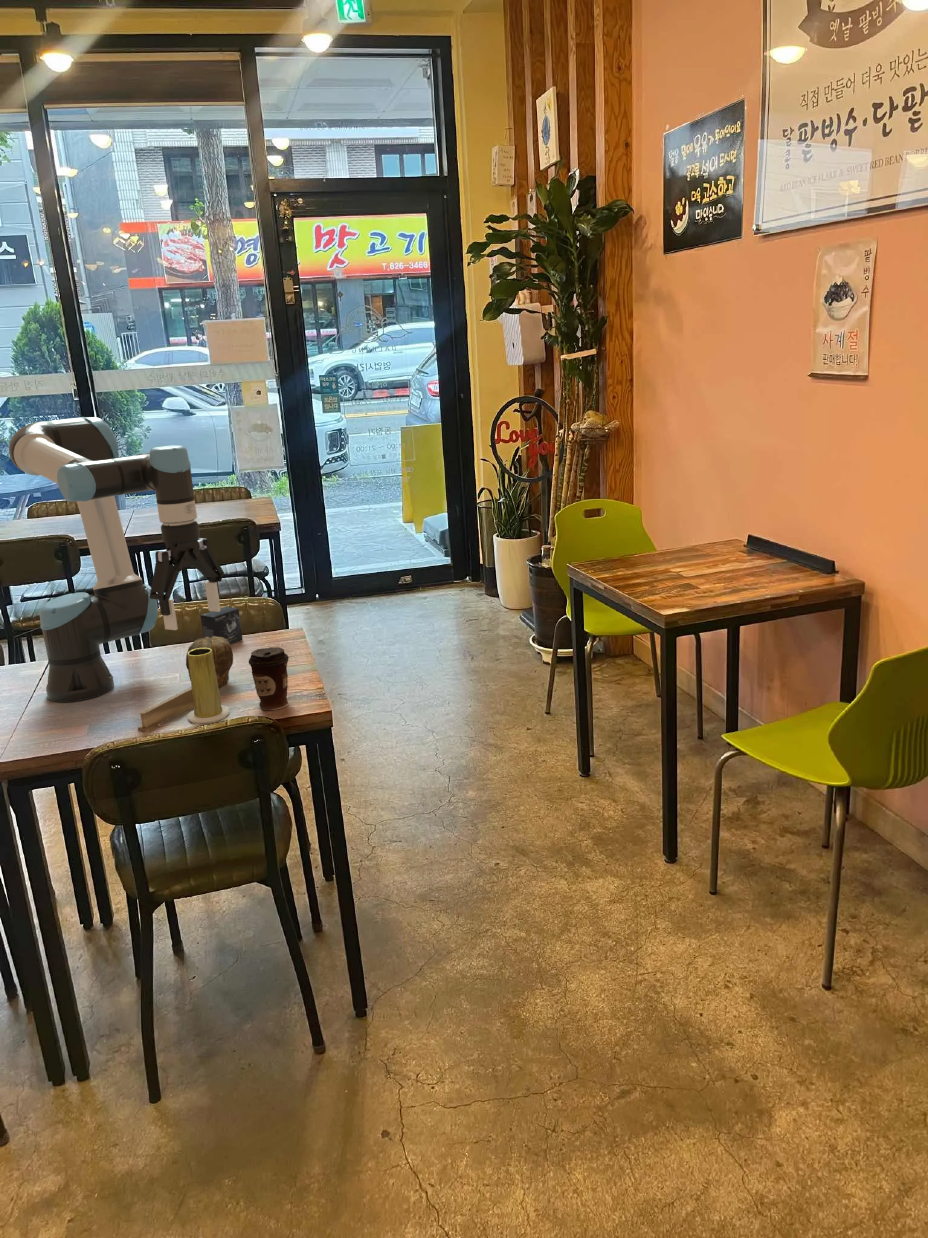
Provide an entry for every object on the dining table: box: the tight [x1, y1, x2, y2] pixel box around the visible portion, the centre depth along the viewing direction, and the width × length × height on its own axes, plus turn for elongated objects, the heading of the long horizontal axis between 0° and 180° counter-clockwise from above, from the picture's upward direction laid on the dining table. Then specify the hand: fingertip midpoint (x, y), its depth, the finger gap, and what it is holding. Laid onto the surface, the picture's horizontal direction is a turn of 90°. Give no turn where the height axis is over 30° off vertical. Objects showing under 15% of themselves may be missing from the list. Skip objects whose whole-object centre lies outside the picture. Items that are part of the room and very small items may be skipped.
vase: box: [186, 648, 223, 718], centre depth 196 cm, size 6×6×14 cm
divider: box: [137, 686, 194, 733], centre depth 199 cm, size 3×19×4 cm, turn 155°
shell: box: [185, 636, 234, 689], centre depth 215 cm, size 11×11×12 cm
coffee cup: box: [248, 646, 290, 711], centre depth 199 cm, size 9×8×13 cm
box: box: [199, 606, 243, 646], centre depth 246 cm, size 9×6×10 cm, turn 147°
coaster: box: [186, 704, 230, 725], centre depth 198 cm, size 9×9×1 cm
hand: (193, 619), depth 191 cm, fingers open, 13 cm apart
